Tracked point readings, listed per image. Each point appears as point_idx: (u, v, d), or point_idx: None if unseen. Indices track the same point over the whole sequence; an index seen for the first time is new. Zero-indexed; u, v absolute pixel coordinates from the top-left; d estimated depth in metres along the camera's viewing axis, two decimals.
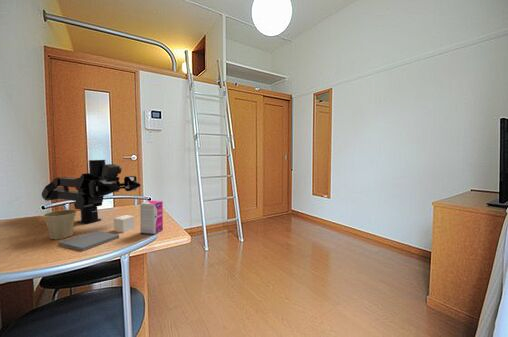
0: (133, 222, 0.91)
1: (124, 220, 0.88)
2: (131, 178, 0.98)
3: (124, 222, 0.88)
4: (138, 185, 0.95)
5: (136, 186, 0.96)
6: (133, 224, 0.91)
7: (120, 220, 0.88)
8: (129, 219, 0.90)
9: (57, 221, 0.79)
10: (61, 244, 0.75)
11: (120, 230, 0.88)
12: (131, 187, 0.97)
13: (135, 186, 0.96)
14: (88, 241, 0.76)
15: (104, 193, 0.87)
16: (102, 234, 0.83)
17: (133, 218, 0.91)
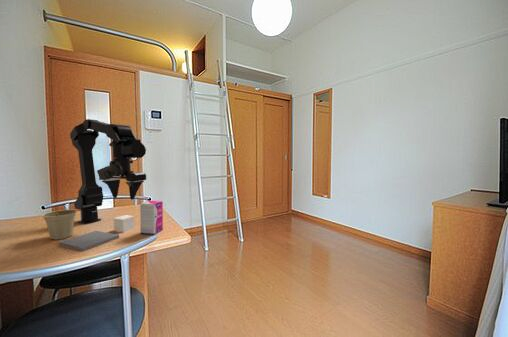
0: (133, 222, 0.91)
1: (124, 220, 0.88)
2: (128, 184, 0.85)
3: (124, 222, 0.88)
4: None
5: None
6: (133, 224, 0.91)
7: (120, 220, 0.88)
8: (129, 219, 0.90)
9: (57, 221, 0.79)
10: (61, 244, 0.75)
11: (120, 230, 0.88)
12: None
13: None
14: (88, 241, 0.76)
15: None
16: (102, 234, 0.83)
17: (133, 218, 0.91)
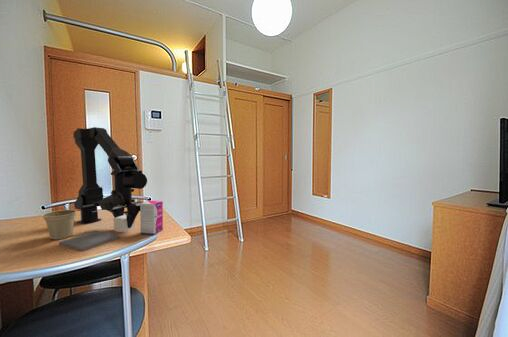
0: (133, 222, 0.91)
1: (124, 220, 0.88)
2: (125, 213, 0.87)
3: (124, 222, 0.88)
4: None
5: None
6: (133, 224, 0.91)
7: (120, 220, 0.88)
8: None
9: (57, 221, 0.79)
10: (61, 244, 0.75)
11: (120, 230, 0.88)
12: None
13: None
14: (88, 241, 0.76)
15: None
16: (102, 234, 0.83)
17: None
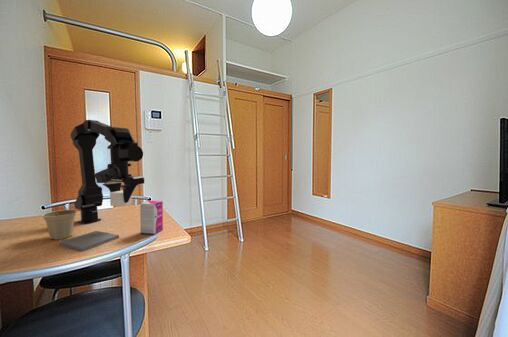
0: (130, 197, 0.90)
1: (121, 194, 0.86)
2: (122, 187, 0.85)
3: (121, 196, 0.86)
4: None
5: None
6: (129, 199, 0.90)
7: (116, 194, 0.86)
8: None
9: (57, 221, 0.79)
10: (61, 244, 0.75)
11: (116, 204, 0.86)
12: None
13: None
14: (88, 241, 0.76)
15: None
16: (102, 234, 0.83)
17: None
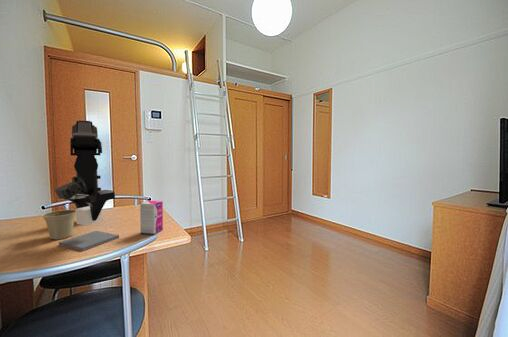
0: (99, 214, 0.79)
1: (87, 211, 0.75)
2: (88, 203, 0.74)
3: (88, 214, 0.76)
4: None
5: None
6: (99, 216, 0.79)
7: (82, 211, 0.75)
8: None
9: (57, 221, 0.79)
10: (61, 244, 0.75)
11: (83, 222, 0.76)
12: None
13: None
14: (88, 241, 0.76)
15: None
16: (102, 234, 0.83)
17: None
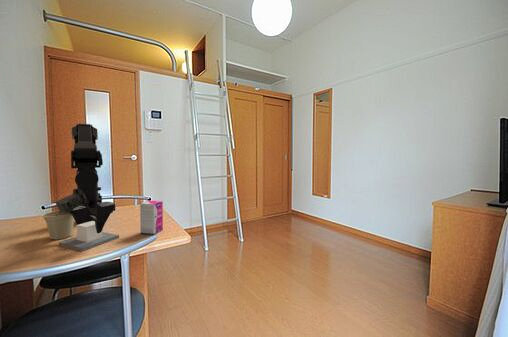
0: None
1: (88, 227, 0.76)
2: (93, 216, 0.74)
3: (88, 230, 0.76)
4: None
5: None
6: None
7: (83, 227, 0.76)
8: (95, 226, 0.78)
9: (57, 221, 0.79)
10: (61, 244, 0.75)
11: (84, 239, 0.76)
12: None
13: None
14: None
15: None
16: (102, 234, 0.83)
17: None
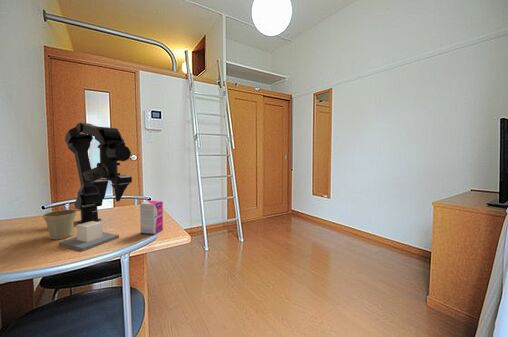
0: (100, 229, 0.79)
1: (88, 227, 0.76)
2: (113, 186, 0.86)
3: (88, 230, 0.76)
4: None
5: None
6: (100, 232, 0.79)
7: (83, 227, 0.76)
8: (95, 226, 0.78)
9: (57, 221, 0.79)
10: (61, 244, 0.75)
11: (84, 239, 0.76)
12: None
13: None
14: None
15: None
16: (102, 234, 0.83)
17: (100, 225, 0.79)
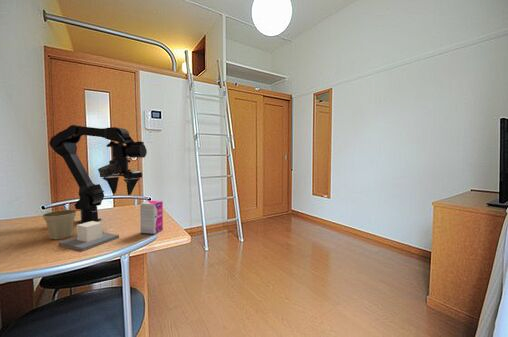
0: (100, 229, 0.79)
1: (88, 227, 0.76)
2: (125, 181, 0.95)
3: (88, 230, 0.76)
4: None
5: None
6: (100, 232, 0.79)
7: (83, 227, 0.76)
8: (95, 226, 0.78)
9: (57, 221, 0.79)
10: (61, 244, 0.75)
11: (84, 239, 0.76)
12: None
13: None
14: None
15: None
16: (102, 234, 0.83)
17: (100, 225, 0.79)
